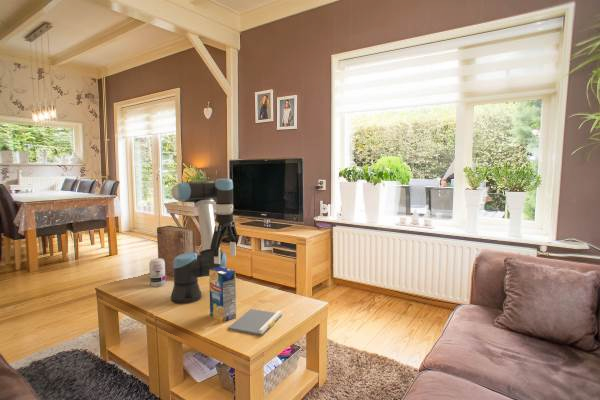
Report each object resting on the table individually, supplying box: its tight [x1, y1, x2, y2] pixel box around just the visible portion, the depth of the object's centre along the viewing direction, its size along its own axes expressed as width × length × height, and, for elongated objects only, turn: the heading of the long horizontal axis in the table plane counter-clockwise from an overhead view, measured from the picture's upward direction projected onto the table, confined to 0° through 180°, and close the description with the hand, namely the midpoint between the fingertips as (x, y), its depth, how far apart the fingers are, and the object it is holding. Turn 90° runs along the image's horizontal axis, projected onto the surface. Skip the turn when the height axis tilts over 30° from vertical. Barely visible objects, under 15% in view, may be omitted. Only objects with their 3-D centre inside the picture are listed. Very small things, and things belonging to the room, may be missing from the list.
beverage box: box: [208, 266, 237, 324], centre depth 153 cm, size 7×11×22 cm, turn 46°
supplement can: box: [148, 257, 166, 288], centre depth 195 cm, size 8×8×15 cm
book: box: [156, 225, 197, 278], centre depth 214 cm, size 25×9×30 cm, turn 58°
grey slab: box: [227, 308, 283, 337], centre depth 148 cm, size 16×20×2 cm
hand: (225, 259), depth 152 cm, fingers open, 13 cm apart
